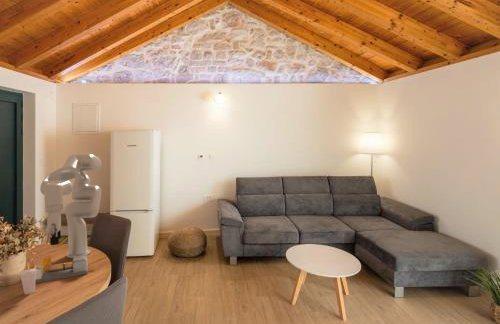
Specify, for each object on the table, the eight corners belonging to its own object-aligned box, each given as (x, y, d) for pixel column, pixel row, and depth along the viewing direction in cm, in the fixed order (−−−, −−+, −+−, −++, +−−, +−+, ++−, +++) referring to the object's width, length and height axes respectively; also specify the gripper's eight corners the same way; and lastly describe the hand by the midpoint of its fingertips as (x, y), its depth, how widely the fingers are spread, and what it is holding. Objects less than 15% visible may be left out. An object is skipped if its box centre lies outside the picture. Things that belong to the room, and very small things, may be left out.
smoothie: (24, 297, 133) (22, 266, 132) (18, 293, 136) (16, 263, 135) (40, 291, 138) (39, 261, 137) (34, 287, 142) (32, 258, 140)
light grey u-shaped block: (35, 274, 152) (35, 265, 151) (43, 273, 153) (42, 264, 153) (33, 280, 146) (32, 270, 146) (41, 278, 148) (40, 269, 147)
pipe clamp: (45, 268, 162) (43, 256, 162) (52, 268, 161) (50, 256, 161) (24, 278, 150) (22, 266, 150) (31, 278, 149) (29, 266, 149)
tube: (48, 271, 153) (48, 264, 153) (84, 265, 160) (84, 258, 160) (47, 274, 150) (47, 266, 149) (84, 268, 157) (84, 261, 156)
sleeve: (74, 268, 159) (73, 257, 159) (87, 266, 162) (86, 255, 161) (73, 273, 154) (72, 261, 153) (86, 270, 156) (86, 259, 156)
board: (35, 276, 153) (34, 274, 152) (87, 267, 163) (87, 265, 163) (31, 283, 145) (31, 281, 145) (87, 273, 156) (87, 271, 156)
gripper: (47, 205, 156) (49, 237, 158) (42, 212, 141) (44, 248, 142) (64, 203, 160) (66, 235, 161) (61, 211, 144) (62, 246, 146)
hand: (55, 241), depth 152 cm, fingers open, 9 cm apart
